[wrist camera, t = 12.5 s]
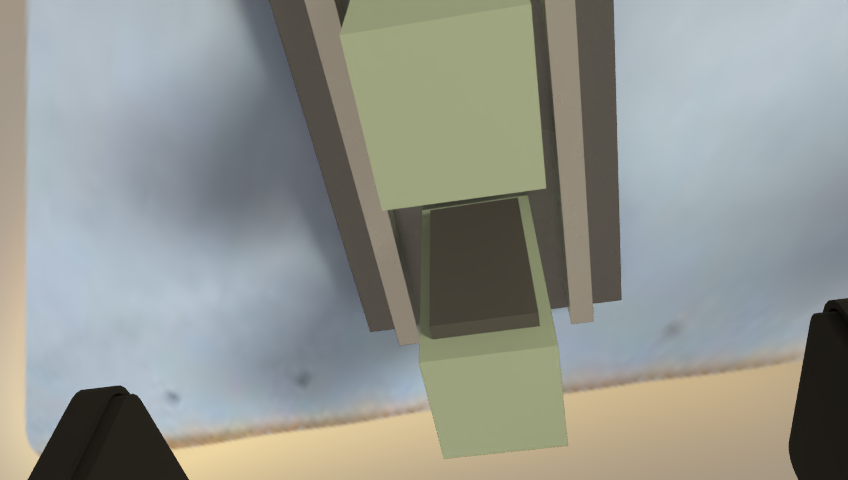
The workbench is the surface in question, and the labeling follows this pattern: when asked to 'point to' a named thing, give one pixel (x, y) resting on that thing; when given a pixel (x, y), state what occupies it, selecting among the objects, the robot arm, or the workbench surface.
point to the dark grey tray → (551, 208)
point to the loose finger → (446, 97)
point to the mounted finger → (488, 331)
